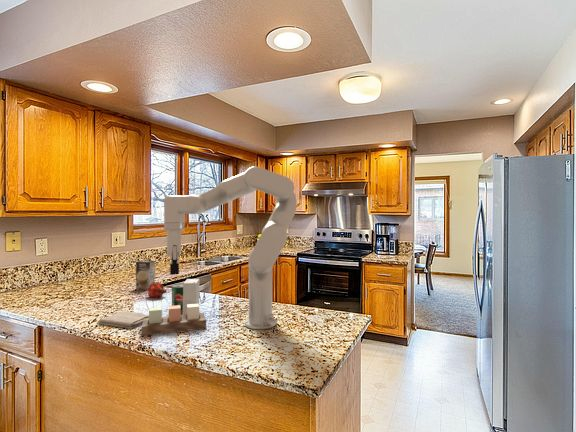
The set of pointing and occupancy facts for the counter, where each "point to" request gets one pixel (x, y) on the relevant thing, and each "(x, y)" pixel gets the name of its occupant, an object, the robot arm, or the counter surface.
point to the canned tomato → (177, 295)
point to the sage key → (155, 315)
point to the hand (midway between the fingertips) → (174, 273)
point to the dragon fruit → (156, 290)
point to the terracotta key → (174, 313)
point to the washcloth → (124, 319)
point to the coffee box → (145, 274)
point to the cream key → (192, 311)
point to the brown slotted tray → (173, 325)
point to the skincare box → (190, 293)
